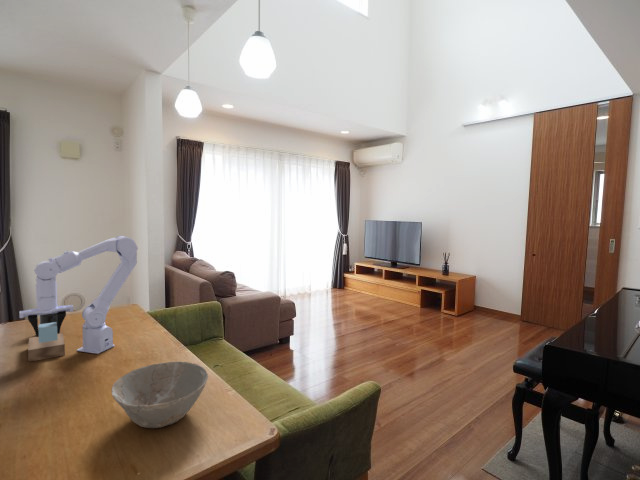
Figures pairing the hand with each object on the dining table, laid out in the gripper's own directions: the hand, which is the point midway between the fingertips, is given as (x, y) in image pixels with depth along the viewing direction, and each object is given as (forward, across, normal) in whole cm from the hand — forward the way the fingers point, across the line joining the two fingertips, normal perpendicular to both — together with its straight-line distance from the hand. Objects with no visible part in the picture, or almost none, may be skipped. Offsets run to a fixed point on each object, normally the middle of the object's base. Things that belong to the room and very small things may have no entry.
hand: (47, 334), depth 119 cm
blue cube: (+2, 0, 0) cm, 2 cm away
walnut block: (+8, 0, +7) cm, 11 cm away
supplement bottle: (+9, +2, +29) cm, 30 cm away
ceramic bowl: (+9, +21, -60) cm, 64 cm away
